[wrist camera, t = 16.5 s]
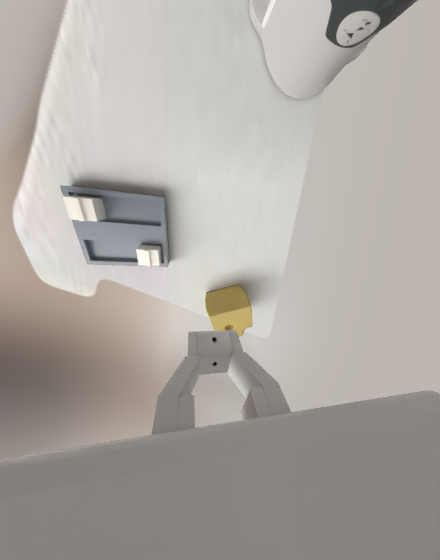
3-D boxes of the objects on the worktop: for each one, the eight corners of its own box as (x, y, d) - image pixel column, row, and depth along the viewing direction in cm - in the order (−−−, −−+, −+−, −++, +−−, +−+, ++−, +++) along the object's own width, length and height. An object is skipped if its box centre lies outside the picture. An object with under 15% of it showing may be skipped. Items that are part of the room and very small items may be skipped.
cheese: (244, 308, 49) (255, 334, 41) (211, 317, 49) (215, 344, 40) (240, 282, 44) (252, 304, 35) (203, 291, 43) (206, 316, 35)
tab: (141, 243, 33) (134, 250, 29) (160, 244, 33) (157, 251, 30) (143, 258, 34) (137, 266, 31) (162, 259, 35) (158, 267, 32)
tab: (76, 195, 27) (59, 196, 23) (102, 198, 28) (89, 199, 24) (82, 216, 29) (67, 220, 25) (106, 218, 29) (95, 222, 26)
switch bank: (71, 185, 27) (60, 185, 25) (165, 196, 30) (163, 197, 28) (94, 259, 34) (87, 264, 32) (169, 262, 37) (167, 266, 35)
